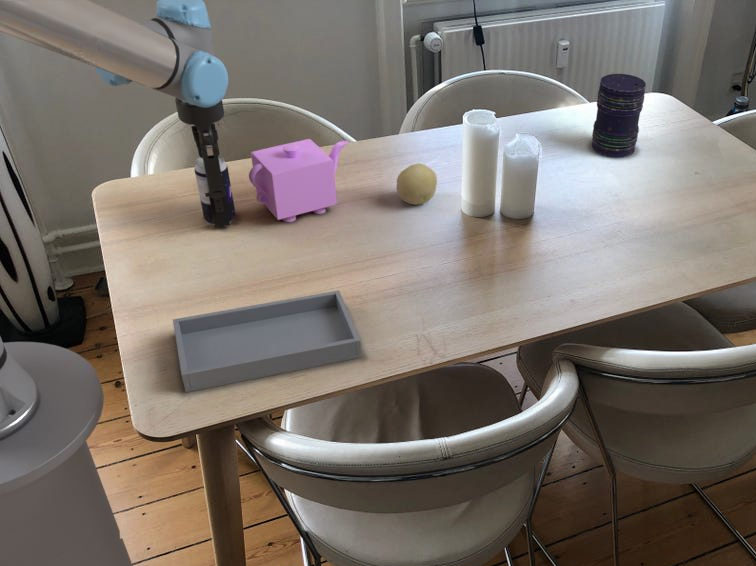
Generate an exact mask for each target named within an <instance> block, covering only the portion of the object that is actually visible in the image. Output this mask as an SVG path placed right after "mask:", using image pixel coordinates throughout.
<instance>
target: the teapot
mask: <svg viewBox="0 0 756 566" xmlns="http://www.w3.org/2000/svg"><path fill="white" fill-rule="evenodd" d="M349 143H350V140H342V141H338V142H336V143H335V144H334V145H333V146H332V148H331V150H330V153H329V155H328V154H327V153H326V152H325V151H324V150H323V149H322V148H321V147H320V146H318V145H317V144H316V143H315V142H314V141H313V140H312V139H311V138H307V139H302V140H298V141H294V142H288V143H285V144H280V145H275V146H272V147H266V148H262V149H259V150H254V151H251V152H250V157H251V164H252V168H251V169H250V171H249V172H248V179H249V182H250V183H251V185H252V186H253V187H254V188H255V191H256V200H257V202H258V203H259V204H260V205H264V207H266V208H267V209H268V210H269V211H270V213H271V214H272V215H273V216H274V217H275V218H276V219H277V220H278V221H280V220H282V221H283V222H285V223H293V222H295V221H296V219H297V216H298V215H302V214H306V213H309V212H312V213H313V214H316V215H321V214H324V213H326V212H327V209H326V208H329V207H332V206H337V205H338V199H337V187H336V174H337V170H338V165H339V159H340V158H339V157H340V154H341V151H342V150H343V149H344V147H345V146H347V145H348V144H349Z"/></svg>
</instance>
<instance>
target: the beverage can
mask: <svg viewBox="0 0 756 566" xmlns="http://www.w3.org/2000/svg"><path fill="white" fill-rule="evenodd" d="M218 158H219V164H220V170H221V175H222V181H223V187H224V191H225V193H226V194H225V199H226V204H227V210H228V216H229V222H230V223H232V221H233V220H234V219H235V218H236V215H237V214H236V209H235V202H234V197H233V190H232V184H231V178H230V171H229V165H228V164H227V163H226V162H225V158H224V157H223V156H221V155H219V156H218ZM194 174H195V180H196V184H197V190H198V194H199V199H200V205H201V209H202V215H203V220H204V221H206V223H209V224H210V225H211V226H214V220H213V215H212V210H211V204H210V199H209V197H206V196H205V193H208V192H209V188H208V183H207V178H206V173H205V168H204V163H203V159H202V158H201V157H200V156H199V157H198V158H197V159H196V160H195V165H194Z"/></svg>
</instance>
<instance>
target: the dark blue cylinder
mask: <svg viewBox="0 0 756 566" xmlns="http://www.w3.org/2000/svg"><path fill="white" fill-rule="evenodd" d="M646 87H647V83H646V81H645V80H644V79H642V78H640V77H638V76H635V75H632V74H627V73H610V74H606V75H604V76H602V77H601V78H600V79H599V87H598V88H599V89H598V91H597V100H596V107H597V110H596V117H595V120H594V123H593V129H592V135H591V136H592V137H591V138H592V142H591V146H590V147H591V149H592V151H593V152H595V153H596V154H597V155H600V156H602V157H607V158H612V159H623V158H628V157H630V156H632V155H633V154H635V150H636V144H637V141H638V138H639V132H640V127H639V121H640V116H641V113H642V111H643V108H644V105H643V104H644V102H645V93H646Z"/></svg>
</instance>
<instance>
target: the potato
mask: <svg viewBox="0 0 756 566" xmlns="http://www.w3.org/2000/svg"><path fill="white" fill-rule="evenodd" d="M437 185H438V177H437V174H436V172H435V171H434V169H432V168H430V167H429V166H427V165H426V164H423V163H414V164H411V165H409V166H408V167H406V168H404V169H403V170H402V171H401V172H400V173H399V174H398V175H397V178H396V188H395V189H396V192H397V194H398V196H399V197H400V199H401V200H403V201H404V202H406V203H408V204H410V205H421V204H425V203H427V202H429V201H430V200H431V199H433V198H434V196H435V194H436V190H437Z"/></svg>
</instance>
